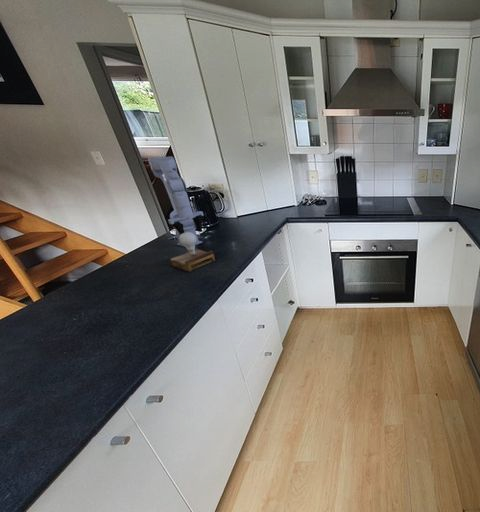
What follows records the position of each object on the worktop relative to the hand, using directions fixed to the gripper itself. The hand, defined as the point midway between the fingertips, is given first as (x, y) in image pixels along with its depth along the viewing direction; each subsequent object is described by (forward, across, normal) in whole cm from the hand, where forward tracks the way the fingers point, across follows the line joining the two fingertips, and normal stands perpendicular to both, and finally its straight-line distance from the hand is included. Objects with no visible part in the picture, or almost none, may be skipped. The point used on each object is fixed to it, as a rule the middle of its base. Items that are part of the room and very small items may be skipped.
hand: (191, 234), depth 129 cm
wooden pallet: (+10, -7, -8) cm, 15 cm away
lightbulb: (+7, -6, -7) cm, 12 cm away
